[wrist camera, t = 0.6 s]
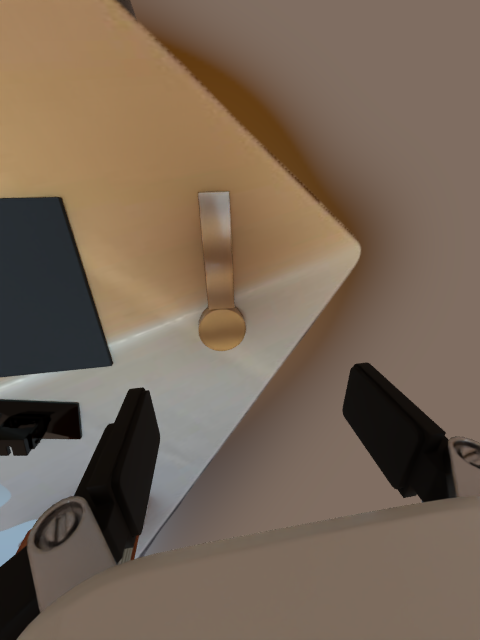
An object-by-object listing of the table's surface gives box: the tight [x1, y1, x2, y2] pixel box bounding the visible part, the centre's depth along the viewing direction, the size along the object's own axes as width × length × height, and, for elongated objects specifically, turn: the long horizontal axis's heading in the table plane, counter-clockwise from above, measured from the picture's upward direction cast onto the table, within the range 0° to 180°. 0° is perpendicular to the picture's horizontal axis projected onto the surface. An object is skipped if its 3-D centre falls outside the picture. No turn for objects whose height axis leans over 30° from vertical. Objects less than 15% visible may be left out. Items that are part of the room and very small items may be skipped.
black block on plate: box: [0, 400, 82, 456], centre depth 32 cm, size 12×7×5 cm, turn 79°
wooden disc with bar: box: [198, 191, 246, 351], centre depth 28 cm, size 18×6×3 cm, turn 2°
